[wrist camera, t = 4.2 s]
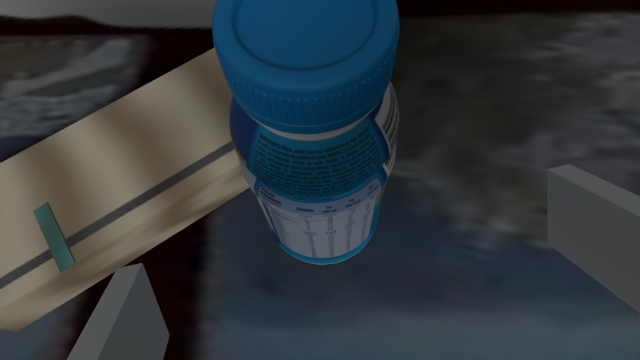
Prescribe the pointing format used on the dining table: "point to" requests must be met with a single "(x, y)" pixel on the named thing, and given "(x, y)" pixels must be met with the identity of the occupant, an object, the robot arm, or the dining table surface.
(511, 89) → the dining table surface
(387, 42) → the beverage bottle
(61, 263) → the birch board
